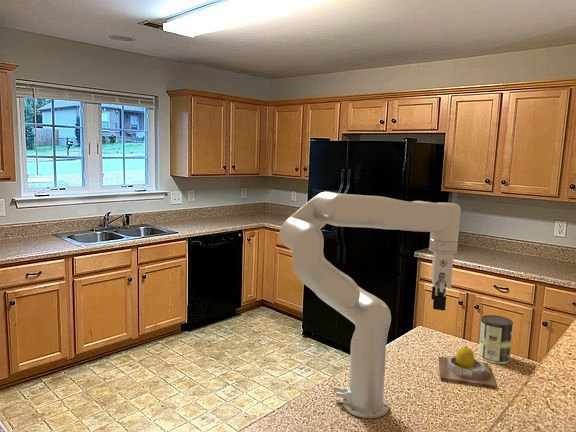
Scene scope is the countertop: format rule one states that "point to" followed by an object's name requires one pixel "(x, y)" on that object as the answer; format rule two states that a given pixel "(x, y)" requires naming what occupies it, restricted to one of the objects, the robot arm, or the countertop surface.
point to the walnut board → (450, 377)
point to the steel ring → (466, 372)
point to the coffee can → (495, 339)
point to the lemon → (465, 357)
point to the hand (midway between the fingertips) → (437, 304)
